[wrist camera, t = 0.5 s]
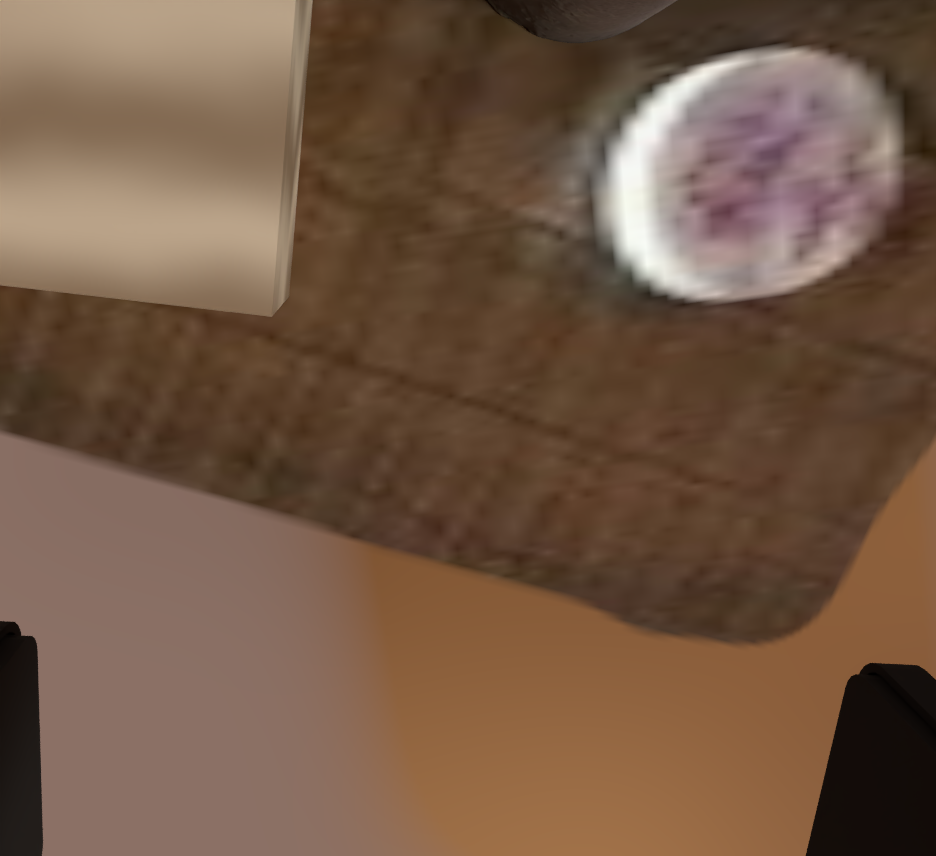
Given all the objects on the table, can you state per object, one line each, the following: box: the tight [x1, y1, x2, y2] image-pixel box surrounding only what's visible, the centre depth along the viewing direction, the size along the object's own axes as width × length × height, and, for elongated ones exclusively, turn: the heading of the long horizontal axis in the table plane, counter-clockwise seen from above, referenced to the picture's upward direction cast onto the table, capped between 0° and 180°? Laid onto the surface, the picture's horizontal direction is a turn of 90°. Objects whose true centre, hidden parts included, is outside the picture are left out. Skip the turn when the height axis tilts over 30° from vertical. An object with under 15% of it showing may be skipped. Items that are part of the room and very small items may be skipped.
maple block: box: [0, 0, 312, 317], centre depth 33 cm, size 12×12×6 cm
